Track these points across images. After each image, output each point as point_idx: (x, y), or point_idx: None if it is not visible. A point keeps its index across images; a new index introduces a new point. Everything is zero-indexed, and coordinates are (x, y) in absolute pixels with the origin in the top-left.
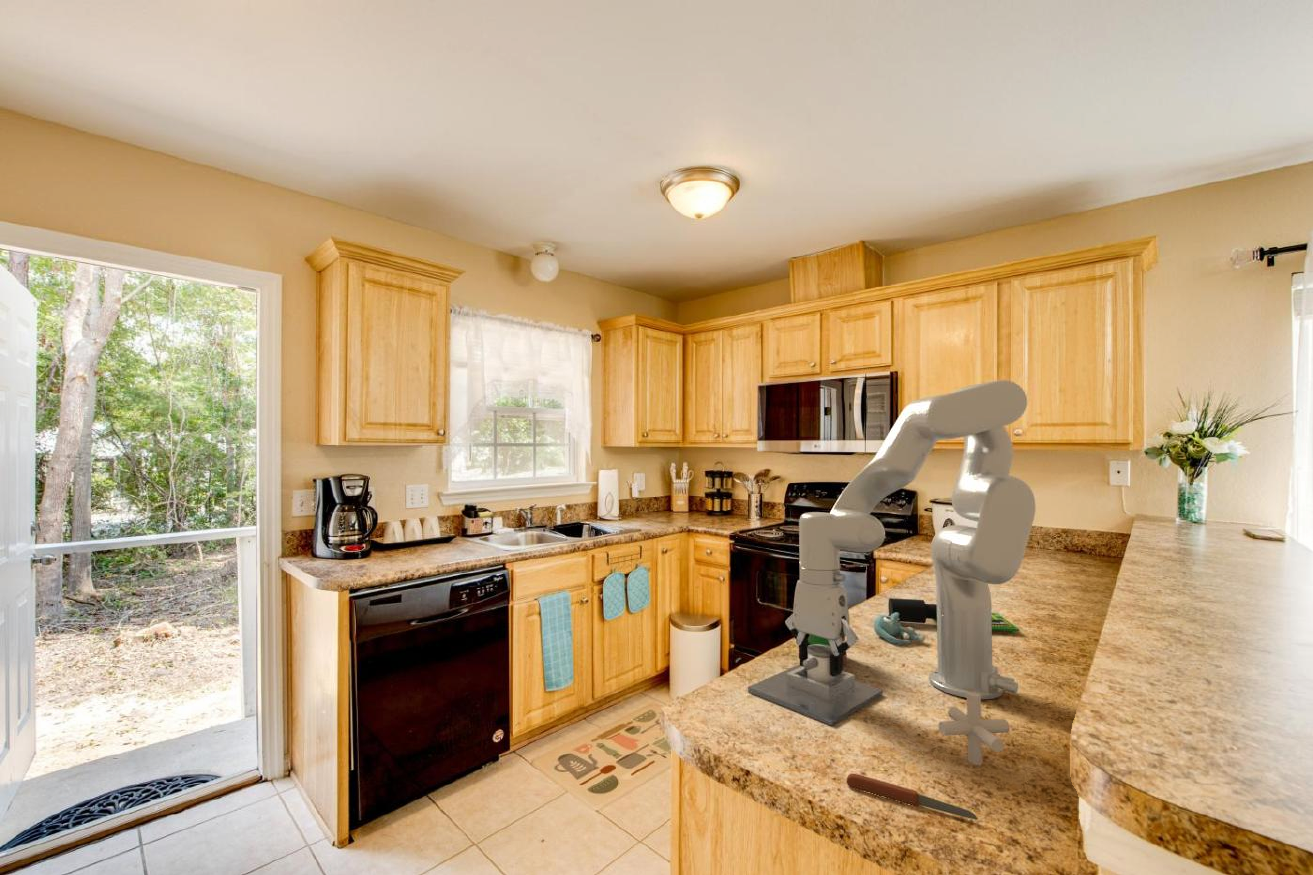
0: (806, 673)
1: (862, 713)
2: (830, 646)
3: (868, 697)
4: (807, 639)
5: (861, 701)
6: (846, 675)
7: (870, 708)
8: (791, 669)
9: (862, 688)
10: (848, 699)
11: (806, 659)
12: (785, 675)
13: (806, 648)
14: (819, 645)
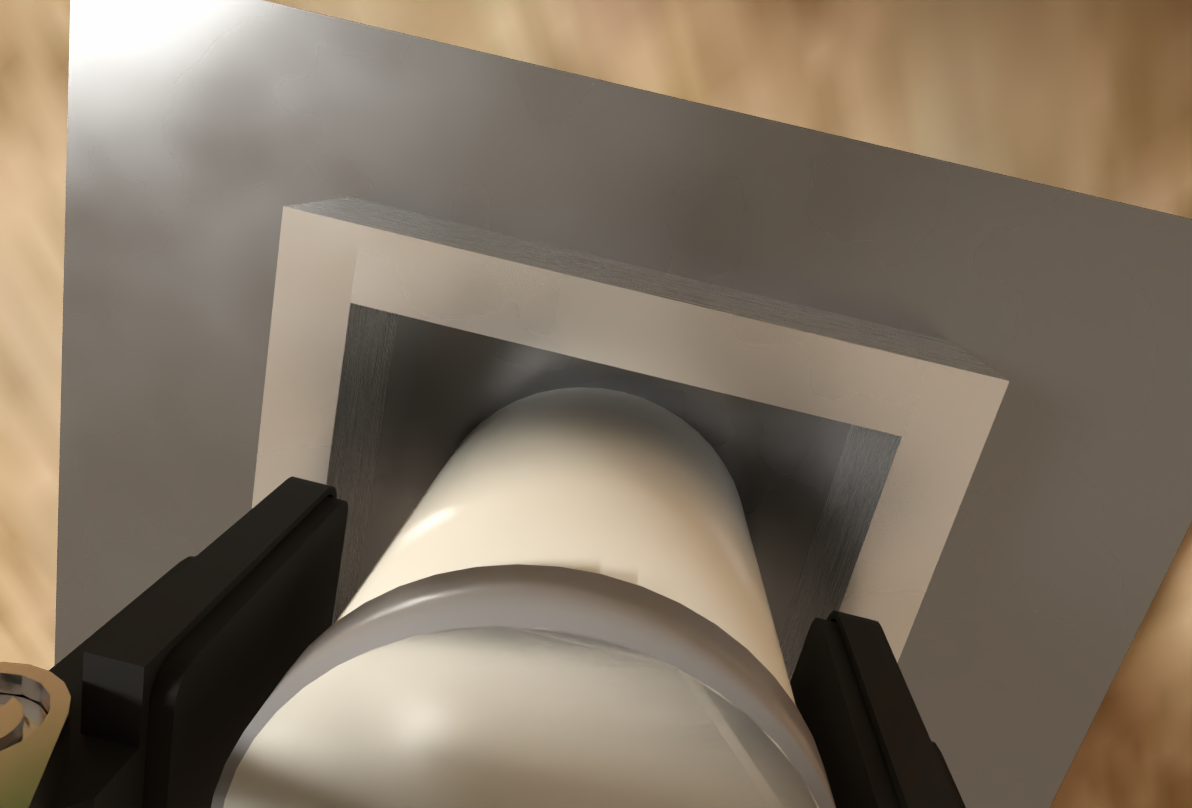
0: (354, 473)
1: (1084, 775)
2: (633, 634)
3: (1155, 568)
4: (41, 803)
5: (1089, 703)
6: (901, 470)
7: (1150, 644)
8: (97, 262)
9: (1059, 356)
10: (948, 717)
11: (297, 658)
12: (147, 485)
13: (197, 790)
14: (393, 737)
